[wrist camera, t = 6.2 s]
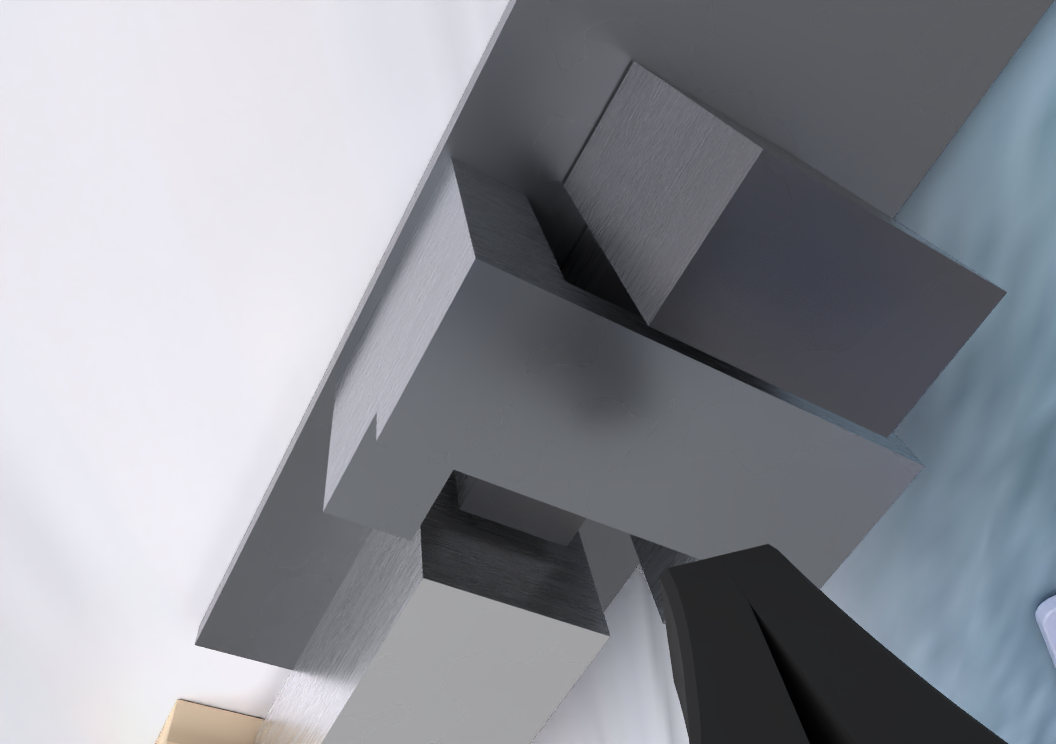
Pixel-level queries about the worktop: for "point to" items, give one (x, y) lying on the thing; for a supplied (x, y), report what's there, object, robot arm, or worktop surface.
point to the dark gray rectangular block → (752, 270)
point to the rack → (207, 726)
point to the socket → (605, 310)
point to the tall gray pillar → (444, 638)
